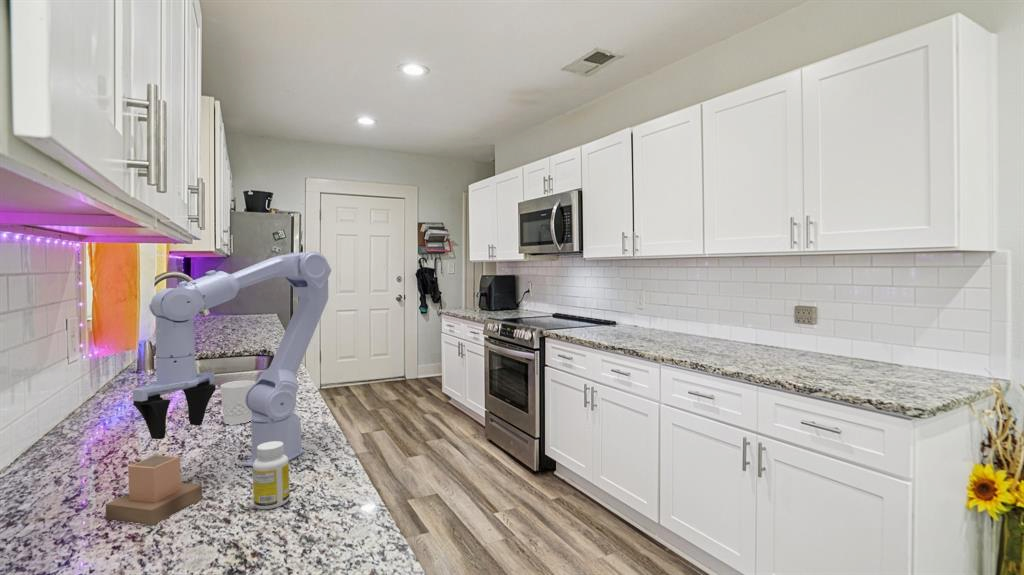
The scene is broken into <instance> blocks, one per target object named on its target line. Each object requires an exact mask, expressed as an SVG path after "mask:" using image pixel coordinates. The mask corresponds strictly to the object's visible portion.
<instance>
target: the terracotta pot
mask: <svg viewBox="0 0 1024 575" xmlns="http://www.w3.org/2000/svg"><path fill="white" fill-rule="evenodd" d="M180 458H181V457H180V456H174V455H173V456H172V455H161V454H160V455H159V454H155V455H152V456H150V457H148V458H145V459H143V460H140V461H138V462H135V463H133V464H130V465H127V466H128V467H127V468H128V470H127V472H128V491H129V492H128V494H129V500H132V501H142V502H152V503H155V502H157V501H159V500H161V499H163V498H165V497H167V496H169V495H171V494H173V493H175V492H177V491H179V490H180V489H181V483H182V482H181V459H180Z"/></svg>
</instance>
